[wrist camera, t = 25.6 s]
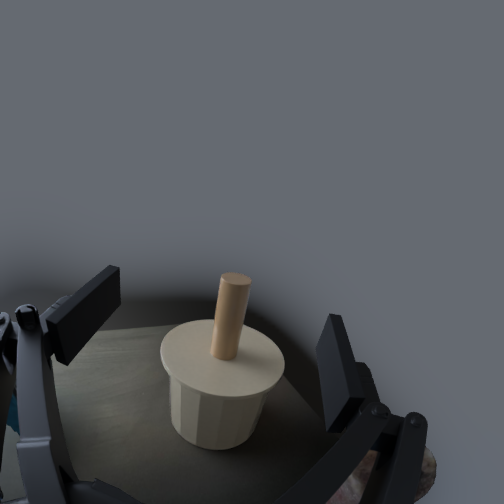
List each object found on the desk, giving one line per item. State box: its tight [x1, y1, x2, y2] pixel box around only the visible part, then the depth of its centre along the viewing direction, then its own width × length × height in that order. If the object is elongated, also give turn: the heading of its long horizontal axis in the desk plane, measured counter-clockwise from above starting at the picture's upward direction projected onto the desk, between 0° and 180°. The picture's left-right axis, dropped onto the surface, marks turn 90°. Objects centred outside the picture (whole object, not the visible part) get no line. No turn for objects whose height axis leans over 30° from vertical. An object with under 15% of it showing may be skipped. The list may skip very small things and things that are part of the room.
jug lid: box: [161, 272, 285, 400], centre depth 29 cm, size 14×14×10 cm
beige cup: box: [169, 325, 269, 450], centre depth 34 cm, size 13×13×14 cm
